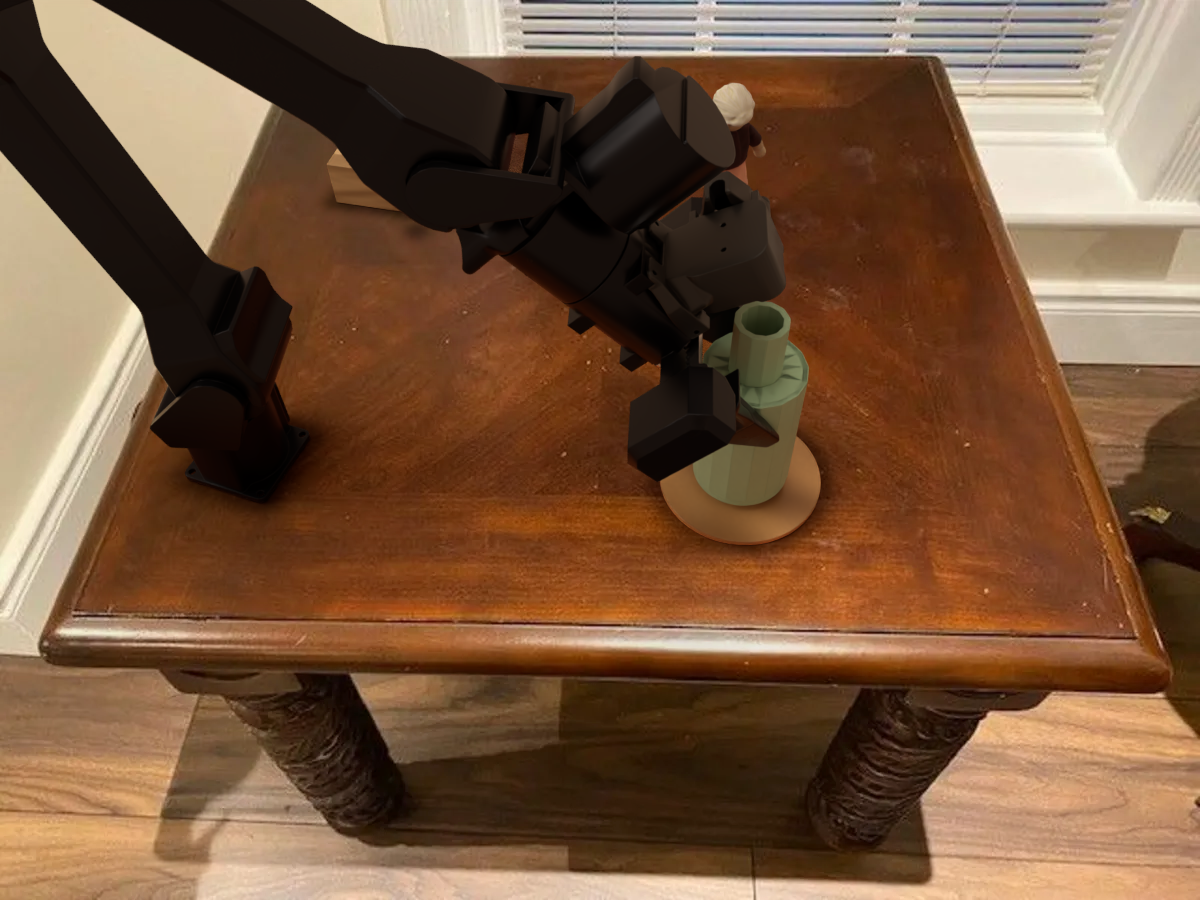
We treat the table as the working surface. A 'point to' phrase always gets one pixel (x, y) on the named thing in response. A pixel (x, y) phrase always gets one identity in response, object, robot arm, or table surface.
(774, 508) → the mat
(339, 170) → the holder
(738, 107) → the grandmother figurine
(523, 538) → the table surface
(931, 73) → the table surface
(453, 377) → the table surface
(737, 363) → the bottle
